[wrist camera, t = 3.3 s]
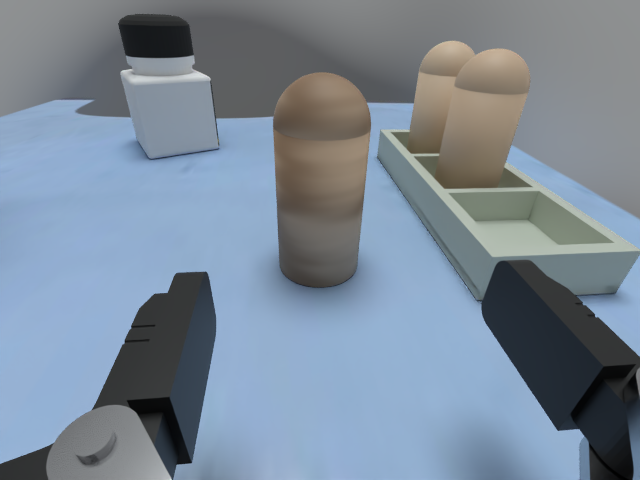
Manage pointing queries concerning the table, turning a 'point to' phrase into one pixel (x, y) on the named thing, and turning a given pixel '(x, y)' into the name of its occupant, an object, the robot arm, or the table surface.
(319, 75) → the round-topped wooden peg
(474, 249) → the compartment tray
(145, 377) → the robot arm
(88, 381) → the table surface
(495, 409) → the table surface
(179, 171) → the table surface
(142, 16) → the medicine bottle
